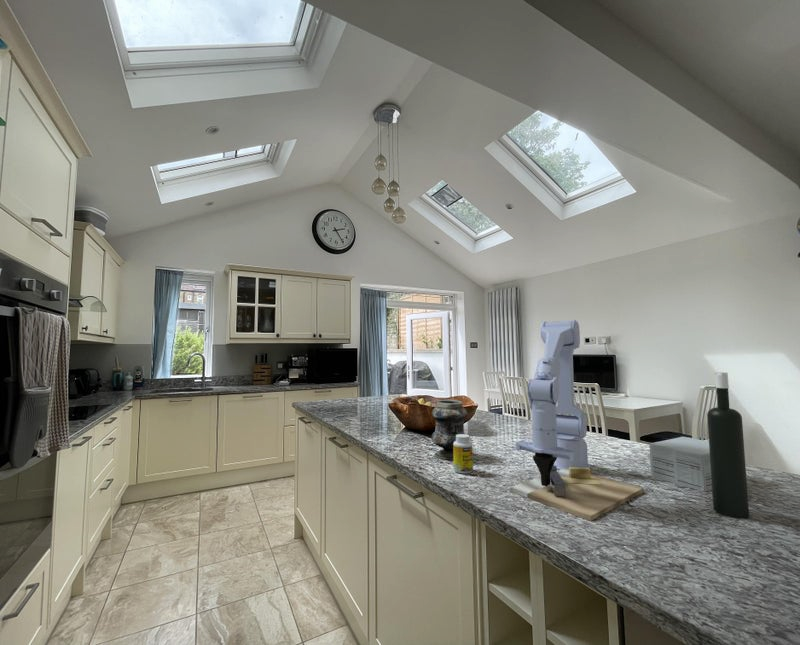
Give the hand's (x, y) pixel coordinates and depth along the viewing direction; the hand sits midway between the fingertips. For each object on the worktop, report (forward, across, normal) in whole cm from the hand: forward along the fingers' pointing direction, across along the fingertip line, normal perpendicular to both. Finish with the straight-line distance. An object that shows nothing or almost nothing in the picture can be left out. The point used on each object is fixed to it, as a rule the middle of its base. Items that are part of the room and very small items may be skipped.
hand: (546, 485), depth 90 cm
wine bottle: (+2, +32, +19) cm, 37 cm away
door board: (+2, +4, +7) cm, 9 cm away
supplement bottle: (+2, -25, -1) cm, 25 cm away
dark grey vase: (+2, -38, +9) cm, 39 cm away
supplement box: (+3, +22, +40) cm, 46 cm away
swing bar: (+1, 0, +4) cm, 4 cm away
